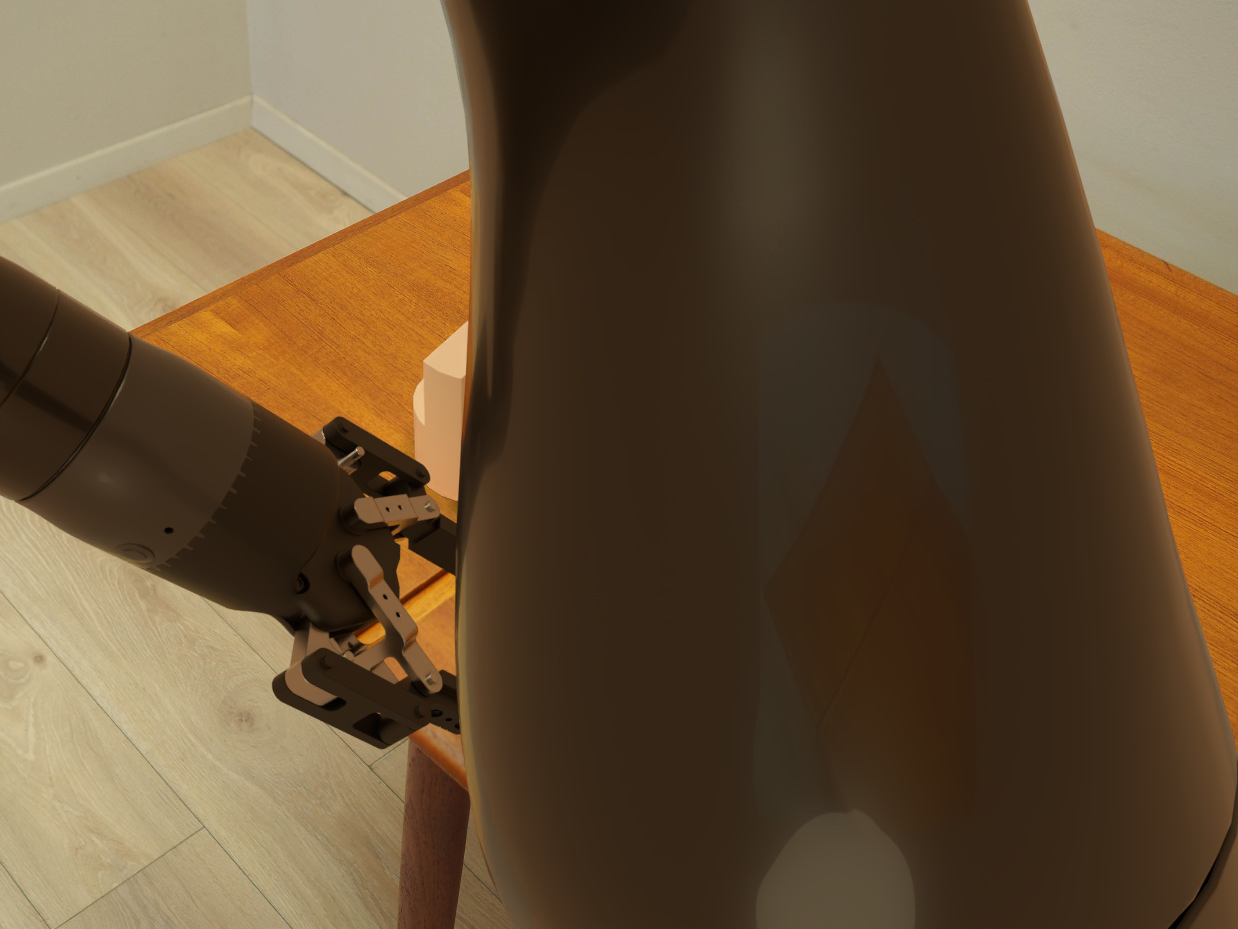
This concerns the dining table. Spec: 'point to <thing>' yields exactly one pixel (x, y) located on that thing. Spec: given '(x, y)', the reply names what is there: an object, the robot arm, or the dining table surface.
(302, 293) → the dining table surface
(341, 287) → the dining table surface
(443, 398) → the cylinder with rectangular tab
